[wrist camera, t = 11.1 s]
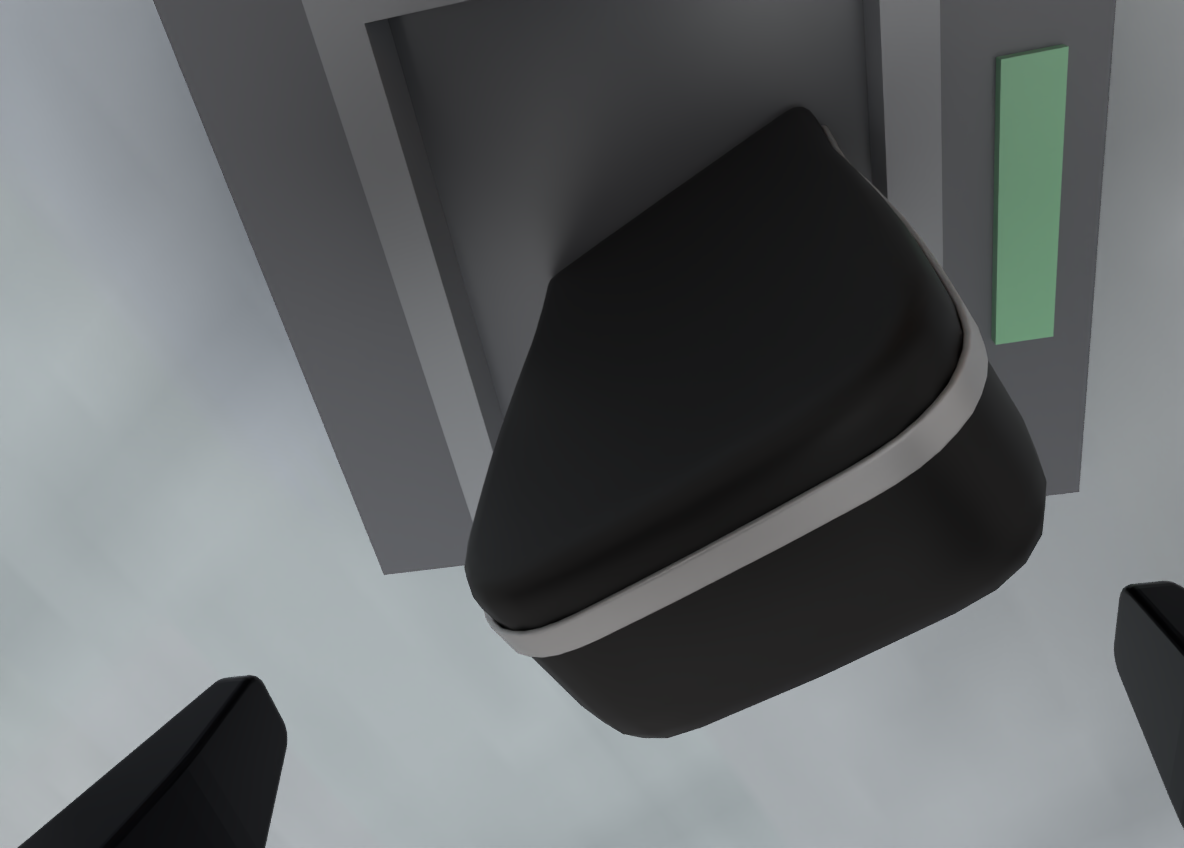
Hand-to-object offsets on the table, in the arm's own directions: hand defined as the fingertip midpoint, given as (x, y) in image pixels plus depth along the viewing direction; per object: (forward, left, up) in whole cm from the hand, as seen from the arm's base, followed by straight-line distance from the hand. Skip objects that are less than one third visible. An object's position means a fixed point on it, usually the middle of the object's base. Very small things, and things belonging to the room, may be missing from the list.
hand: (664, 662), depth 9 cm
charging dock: (0, 0, -13) cm, 13 cm away
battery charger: (-1, 0, -12) cm, 12 cm away
